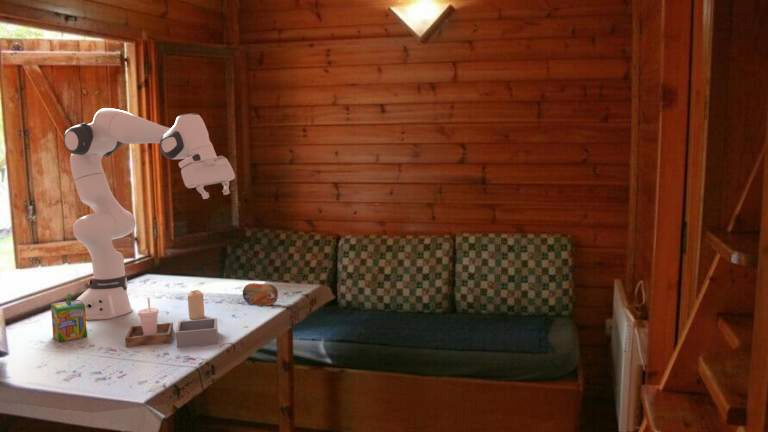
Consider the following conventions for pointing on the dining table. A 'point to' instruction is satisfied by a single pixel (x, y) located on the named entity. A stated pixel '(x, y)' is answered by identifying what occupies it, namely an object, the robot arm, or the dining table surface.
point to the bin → (196, 332)
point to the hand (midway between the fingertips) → (216, 196)
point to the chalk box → (68, 320)
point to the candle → (196, 304)
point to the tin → (260, 294)
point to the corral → (149, 336)
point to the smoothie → (149, 320)
